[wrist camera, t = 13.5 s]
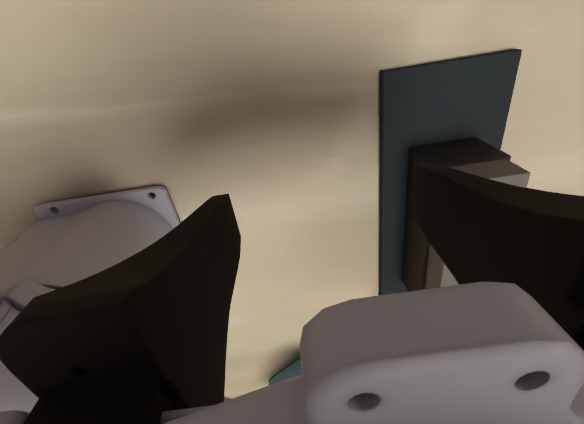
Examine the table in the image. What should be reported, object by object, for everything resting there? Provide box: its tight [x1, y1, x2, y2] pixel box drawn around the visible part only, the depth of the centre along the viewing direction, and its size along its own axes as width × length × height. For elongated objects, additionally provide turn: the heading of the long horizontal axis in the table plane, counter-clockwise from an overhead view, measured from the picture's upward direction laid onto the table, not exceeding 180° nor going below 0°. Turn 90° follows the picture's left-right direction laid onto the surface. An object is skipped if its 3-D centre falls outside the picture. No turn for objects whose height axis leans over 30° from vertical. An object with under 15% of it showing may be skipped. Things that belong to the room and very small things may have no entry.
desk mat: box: [379, 49, 522, 296], centre depth 24 cm, size 8×22×1 cm, turn 8°
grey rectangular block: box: [402, 137, 530, 292], centre depth 21 cm, size 12×4×6 cm, turn 8°
